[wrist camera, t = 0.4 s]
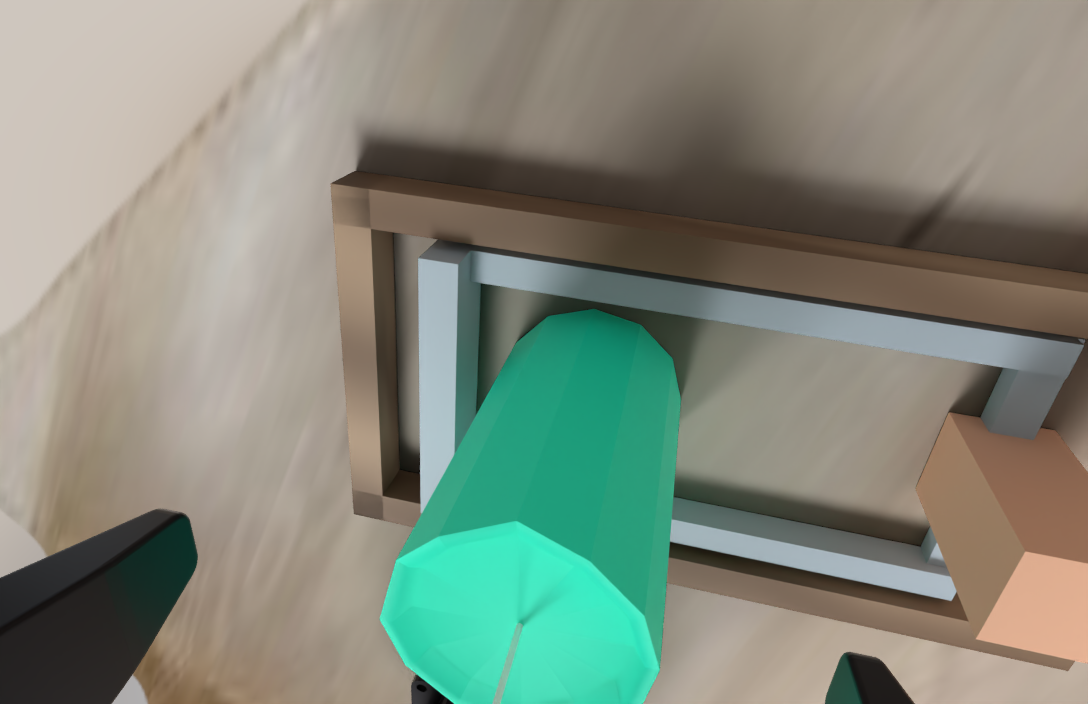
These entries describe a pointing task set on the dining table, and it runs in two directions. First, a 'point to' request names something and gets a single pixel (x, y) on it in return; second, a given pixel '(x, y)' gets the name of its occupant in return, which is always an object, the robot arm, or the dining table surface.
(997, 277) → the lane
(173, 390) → the dining table surface
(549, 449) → the candle
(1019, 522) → the frame
